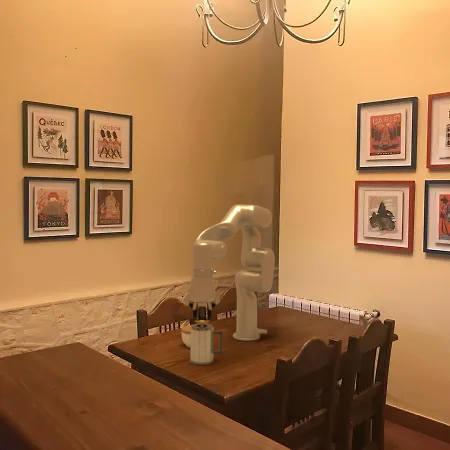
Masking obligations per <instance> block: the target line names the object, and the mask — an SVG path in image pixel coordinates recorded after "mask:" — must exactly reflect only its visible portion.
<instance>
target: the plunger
mask: <svg viewBox="0 0 450 450" xmlns="http://www.w3.org/2000/svg"><path fill="white" fill-rule="evenodd" d="M194 322H195V323H196V324H198V323H201V327H203V323H205V324H206V323H207V324H208V323H210V319H209V320H208V319H207V306H205V305H199V306H198V307H197V320H195V319H194Z"/></svg>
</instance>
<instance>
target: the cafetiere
mask: <svg viewBox="0 0 450 450" xmlns="http://www.w3.org/2000/svg"><path fill="white" fill-rule="evenodd" d="M191 325H192V327H191V348H190V352H189V354H190V358H189V362H190V363H191V364H192V365H196V366H208V365H211V364H213V363H214V355H222V354H223V330H214V326H213V324H210V323H208V322H207V323H203V327H201V323H194V324H193V323H192V324H191ZM215 335H219V338H218V339H219V344H218V345H219V346H218V347H219V349H218V350H214V337H215Z"/></svg>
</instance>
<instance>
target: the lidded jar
mask: <svg viewBox="0 0 450 450" xmlns="http://www.w3.org/2000/svg"><path fill="white" fill-rule="evenodd" d="M192 325H193V324H191V325H185V326H182V327H181V329H180V331H181V340H182V342H183V343H184V345H185V346H186V347H187V348H190V349H191V327H192Z"/></svg>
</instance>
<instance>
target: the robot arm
mask: <svg viewBox="0 0 450 450" xmlns="http://www.w3.org/2000/svg"><path fill="white" fill-rule="evenodd" d="M272 221H273V214H272V212H271V211H270V210H269V209H268V208H265V207H263V206H259V205H258V204H257V205H256V204H244V203H243V204H242V203H241V204H239V203H237V204H234V205H233V206H231V207H230V208H229V210H228V211H227V213H225V215H224V216H223V218H222V219H221V221H220V222H218V223H216V224H213V225H212V226H210V227H208V228H206V229H205V230H203V231H202V232H201V233H200V234H199V235H198V236H197V238H196V239H195V241H194V243H193V245H192V253H193V255H192V260H193V261H192V263H193V265H192V266H193V268H192V276H191V277H190V282H189V293H188V295H187V296H186V297H185V299H184V302H183V303H184V304H186V305H188V306H189V307H190V308H191V309H192V318H193V319H194V321H195V320H197V318H198V308H197V305H198V303H202V304H203V303H204V304H205V303H207V306H208V307H207V308H206V318H207V319H208V320H209V321H210V318H212V310H213V309H214V308H215V306H217V305H218V304H220V303H221V300H220V298H219V297H218V295H217V294H216V282H215V277H214V276H213V275H216V274H217V270H213V260H222V259H224V258H225V257H226V255H227V254H228V251H229V250H228V246H227V243H225V242H223V240H224V241H225V240H228V239H231V238H234V237H235V236H236V235H237V234H238V232H239V231H240V230H241V233H242V244H241V252H240V253H241V255H240V262H241V265H242V266H244V267H247V268H257V269H260V270H251V269H241V270H239V271H237V272H236V274H235V276H234V284H235V288H236V290H235V291H236V331H235V332H234V333H233V334H232V338H233V339H235V340H237V341H244V342H245V341H246V342H249V341H257V340H259V339H261V335H262V334H263V335H267V334H268V329H263V328H258V297H257V295H256V294H255V293H256V292H257V293H268V292H270V291H271V289H272V288H273V287H272V286H273V282H274V273H275V265H276V264H275V263H276V258H275V257H276V256H275V252H274V251H273V250H272V249H271V248H269V247H261V243H262V236H261V233H260V231H259V230H258V229H257V228H263V229H264V228H265V229H266V228H269V226H270V225H272Z"/></svg>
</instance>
